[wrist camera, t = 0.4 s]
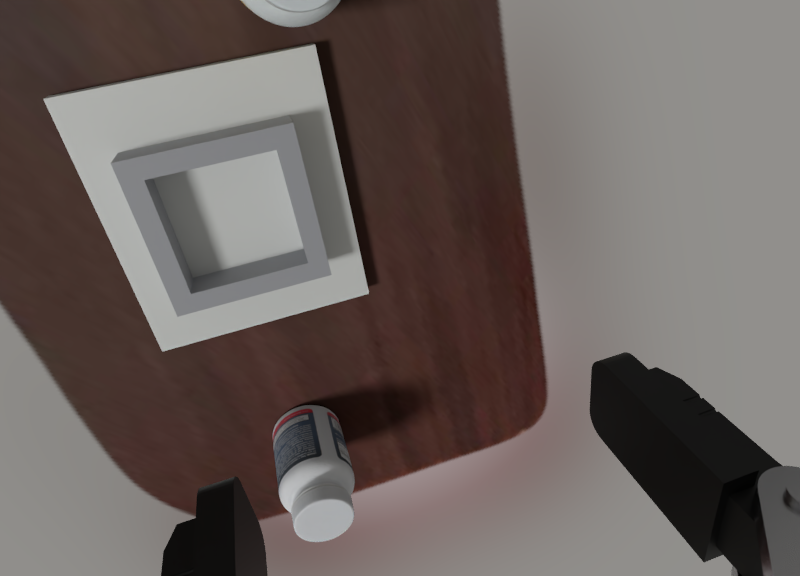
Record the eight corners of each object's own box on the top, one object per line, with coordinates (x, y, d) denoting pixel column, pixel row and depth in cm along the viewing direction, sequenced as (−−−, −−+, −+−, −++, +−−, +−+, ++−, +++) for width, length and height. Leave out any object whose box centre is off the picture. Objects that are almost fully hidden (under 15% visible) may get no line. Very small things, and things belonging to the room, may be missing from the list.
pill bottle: (262, 450, 43) (270, 547, 35) (285, 397, 41) (298, 487, 33) (325, 458, 45) (345, 551, 37) (349, 409, 43) (375, 496, 36)
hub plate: (48, 95, 28) (29, 106, 25) (312, 43, 30) (321, 47, 28) (163, 343, 36) (158, 371, 33) (365, 287, 38) (376, 309, 36)
